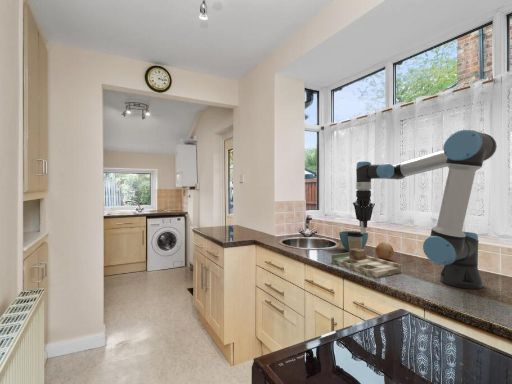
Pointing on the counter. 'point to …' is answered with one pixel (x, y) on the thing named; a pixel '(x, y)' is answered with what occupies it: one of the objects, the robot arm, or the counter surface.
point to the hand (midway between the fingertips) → (363, 233)
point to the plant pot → (345, 239)
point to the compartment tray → (367, 265)
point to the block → (357, 254)
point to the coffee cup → (355, 239)
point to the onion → (384, 251)
